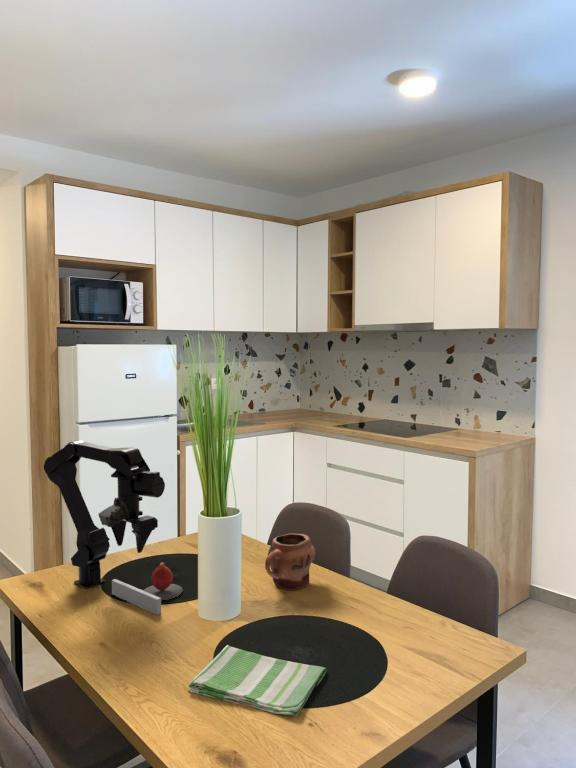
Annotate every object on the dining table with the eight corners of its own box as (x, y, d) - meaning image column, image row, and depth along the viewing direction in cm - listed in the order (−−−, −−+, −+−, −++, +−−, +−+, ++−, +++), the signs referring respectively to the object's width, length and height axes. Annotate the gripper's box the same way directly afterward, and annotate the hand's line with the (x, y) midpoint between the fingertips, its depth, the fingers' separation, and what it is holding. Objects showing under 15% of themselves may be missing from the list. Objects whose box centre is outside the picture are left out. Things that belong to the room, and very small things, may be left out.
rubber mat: (134, 594, 167) (134, 592, 167) (165, 582, 176) (165, 580, 176) (159, 604, 160) (159, 602, 160) (190, 591, 169) (190, 590, 169)
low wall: (111, 594, 167) (111, 580, 167) (115, 593, 168) (115, 578, 168) (157, 614, 154) (157, 599, 154) (161, 613, 155) (160, 598, 155)
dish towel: (296, 723, 111) (296, 708, 111) (185, 696, 119) (185, 682, 119) (326, 673, 127) (326, 661, 127) (227, 653, 136) (227, 641, 136)
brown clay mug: (287, 603, 161) (287, 552, 160) (250, 593, 168) (250, 544, 167) (324, 579, 178) (324, 532, 177) (289, 571, 184) (289, 526, 184)
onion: (170, 595, 165) (169, 566, 165) (149, 595, 165) (148, 566, 165) (174, 586, 171) (174, 559, 170) (154, 586, 171) (153, 559, 171)
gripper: (83, 494, 168) (85, 549, 169) (123, 505, 156) (124, 564, 157) (118, 486, 176) (119, 539, 177) (158, 497, 164) (159, 553, 165)
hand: (129, 549), depth 169 cm, fingers open, 9 cm apart
